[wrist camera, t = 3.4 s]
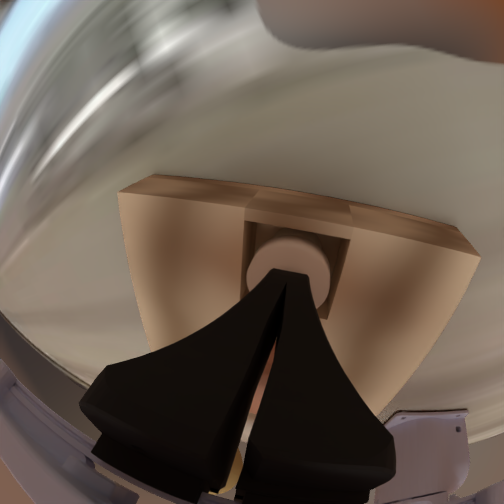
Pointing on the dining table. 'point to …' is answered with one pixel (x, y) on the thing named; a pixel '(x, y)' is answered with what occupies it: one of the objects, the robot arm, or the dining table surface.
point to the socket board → (333, 245)
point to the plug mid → (262, 383)
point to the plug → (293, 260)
